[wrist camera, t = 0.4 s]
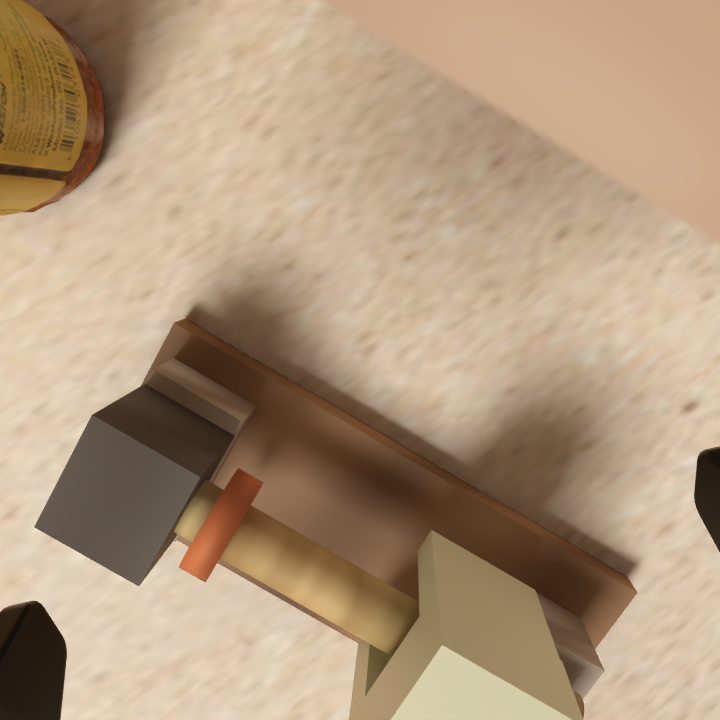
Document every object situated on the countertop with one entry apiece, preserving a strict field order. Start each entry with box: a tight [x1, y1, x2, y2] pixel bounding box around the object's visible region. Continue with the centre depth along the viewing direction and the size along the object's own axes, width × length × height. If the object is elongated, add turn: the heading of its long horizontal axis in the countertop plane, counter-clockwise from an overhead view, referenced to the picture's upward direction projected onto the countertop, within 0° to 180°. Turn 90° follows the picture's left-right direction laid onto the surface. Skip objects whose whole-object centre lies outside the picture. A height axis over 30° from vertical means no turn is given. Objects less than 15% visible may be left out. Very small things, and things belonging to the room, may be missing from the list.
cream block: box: [349, 530, 583, 720], centre depth 18 cm, size 4×4×6 cm
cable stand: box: [35, 319, 637, 718], centre depth 20 cm, size 17×6×6 cm, turn 60°
